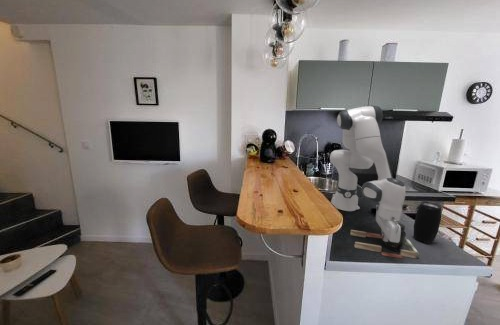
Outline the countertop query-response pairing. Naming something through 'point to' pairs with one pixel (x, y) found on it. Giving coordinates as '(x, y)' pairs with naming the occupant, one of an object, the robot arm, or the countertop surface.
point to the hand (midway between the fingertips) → (384, 239)
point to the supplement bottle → (398, 245)
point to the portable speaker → (427, 222)
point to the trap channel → (412, 253)
